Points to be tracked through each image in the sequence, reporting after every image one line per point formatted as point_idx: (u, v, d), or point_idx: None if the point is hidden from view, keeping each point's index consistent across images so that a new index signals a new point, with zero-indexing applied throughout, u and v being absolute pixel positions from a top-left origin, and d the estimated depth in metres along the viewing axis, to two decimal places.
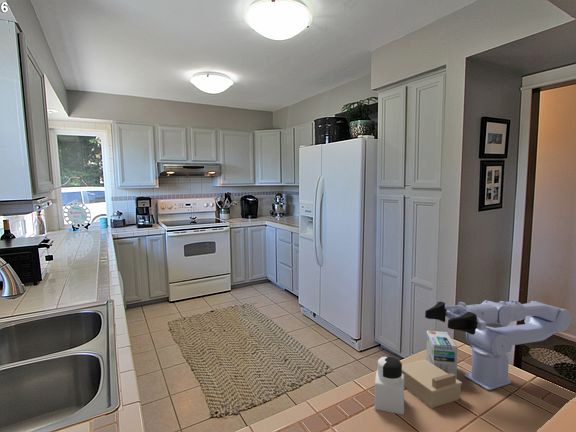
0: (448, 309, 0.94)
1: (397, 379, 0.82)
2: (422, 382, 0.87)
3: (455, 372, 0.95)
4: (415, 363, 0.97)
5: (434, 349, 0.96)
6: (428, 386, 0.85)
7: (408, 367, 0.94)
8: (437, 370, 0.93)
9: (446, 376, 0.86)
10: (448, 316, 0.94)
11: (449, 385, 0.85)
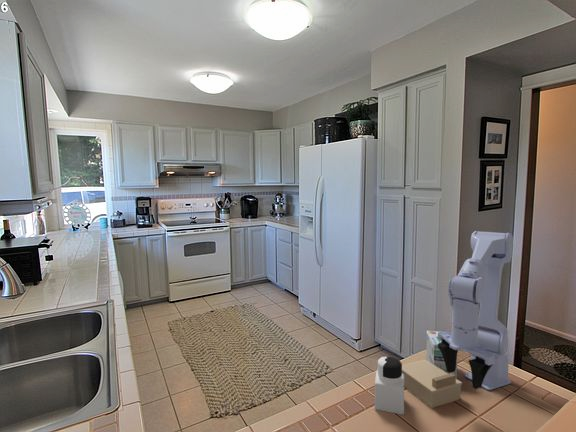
0: None
1: (397, 379, 0.82)
2: (422, 382, 0.87)
3: (455, 372, 0.95)
4: (415, 363, 0.97)
5: (434, 349, 0.96)
6: (428, 386, 0.85)
7: (408, 367, 0.94)
8: (437, 370, 0.93)
9: (446, 376, 0.86)
10: None
11: (449, 385, 0.85)
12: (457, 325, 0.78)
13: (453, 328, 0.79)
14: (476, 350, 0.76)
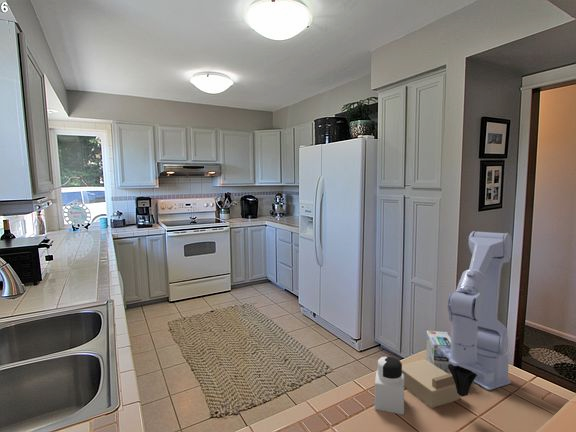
0: None
1: (397, 379, 0.82)
2: (422, 382, 0.87)
3: None
4: (415, 363, 0.97)
5: (434, 349, 0.96)
6: (428, 386, 0.85)
7: (408, 367, 0.94)
8: (437, 370, 0.93)
9: (446, 376, 0.86)
10: None
11: (449, 385, 0.85)
12: (456, 341, 0.78)
13: (452, 344, 0.79)
14: (475, 366, 0.76)
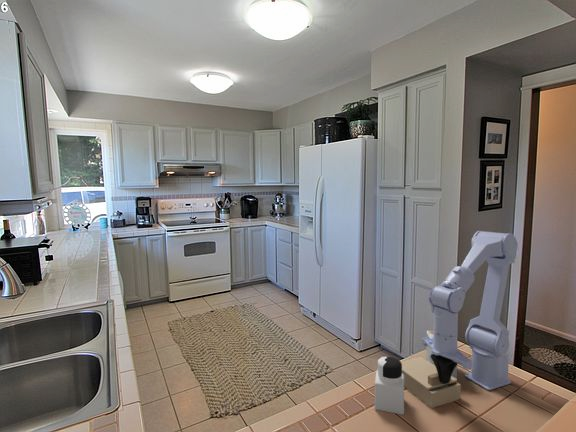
0: None
1: (397, 379, 0.82)
2: (418, 379, 0.88)
3: (455, 372, 0.95)
4: (411, 361, 0.98)
5: None
6: (424, 383, 0.86)
7: (404, 364, 0.96)
8: (433, 367, 0.94)
9: None
10: None
11: None
12: (435, 331, 0.84)
13: (434, 335, 0.85)
14: (455, 355, 0.82)
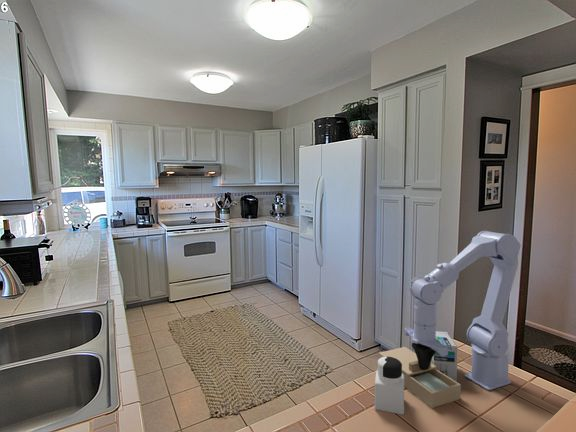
0: None
1: (397, 379, 0.82)
2: None
3: (455, 372, 0.95)
4: (396, 350, 1.05)
5: None
6: (405, 370, 0.93)
7: (389, 354, 1.03)
8: (415, 356, 1.01)
9: None
10: None
11: None
12: (414, 319, 0.92)
13: (415, 324, 0.91)
14: (433, 343, 0.88)
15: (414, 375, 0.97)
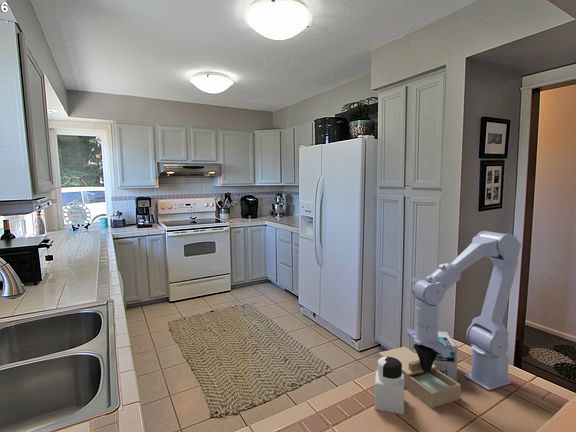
0: None
1: (397, 379, 0.82)
2: None
3: (455, 372, 0.95)
4: (395, 350, 1.05)
5: None
6: (405, 369, 0.93)
7: (389, 353, 1.03)
8: (415, 356, 1.01)
9: None
10: None
11: None
12: (416, 321, 0.91)
13: (417, 326, 0.91)
14: (435, 345, 0.88)
15: (414, 375, 0.97)
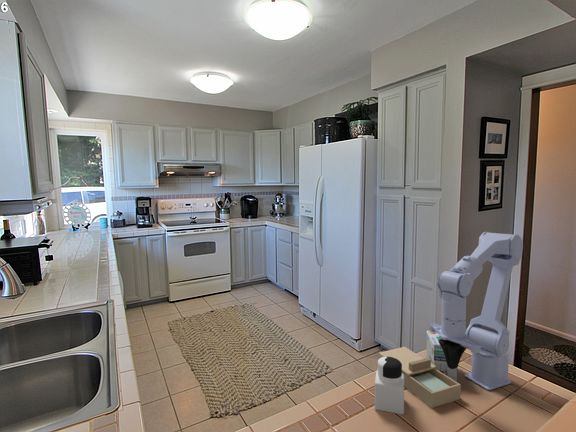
0: None
1: (397, 379, 0.82)
2: None
3: (455, 372, 0.95)
4: (395, 350, 1.05)
5: (434, 349, 0.96)
6: (405, 369, 0.93)
7: (389, 353, 1.03)
8: (415, 356, 1.01)
9: (422, 360, 0.94)
10: None
11: (424, 369, 0.93)
12: (444, 316, 0.84)
13: (442, 319, 0.85)
14: (463, 340, 0.82)
15: (414, 375, 0.97)
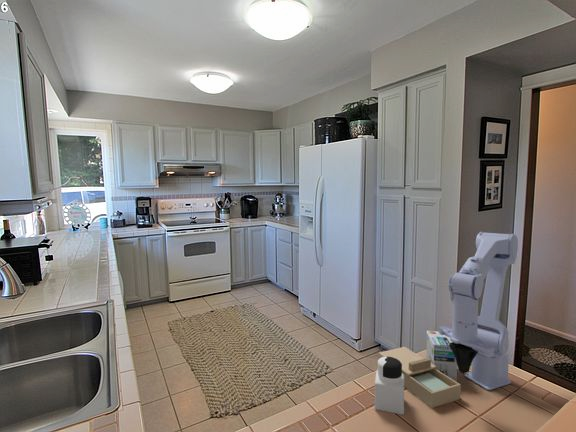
0: None
1: (397, 379, 0.82)
2: None
3: (455, 372, 0.95)
4: (395, 350, 1.05)
5: (434, 349, 0.96)
6: (405, 369, 0.93)
7: (389, 353, 1.03)
8: (415, 356, 1.01)
9: (422, 360, 0.94)
10: None
11: (424, 369, 0.93)
12: (457, 319, 0.81)
13: (454, 322, 0.82)
14: (476, 343, 0.79)
15: (414, 375, 0.97)
